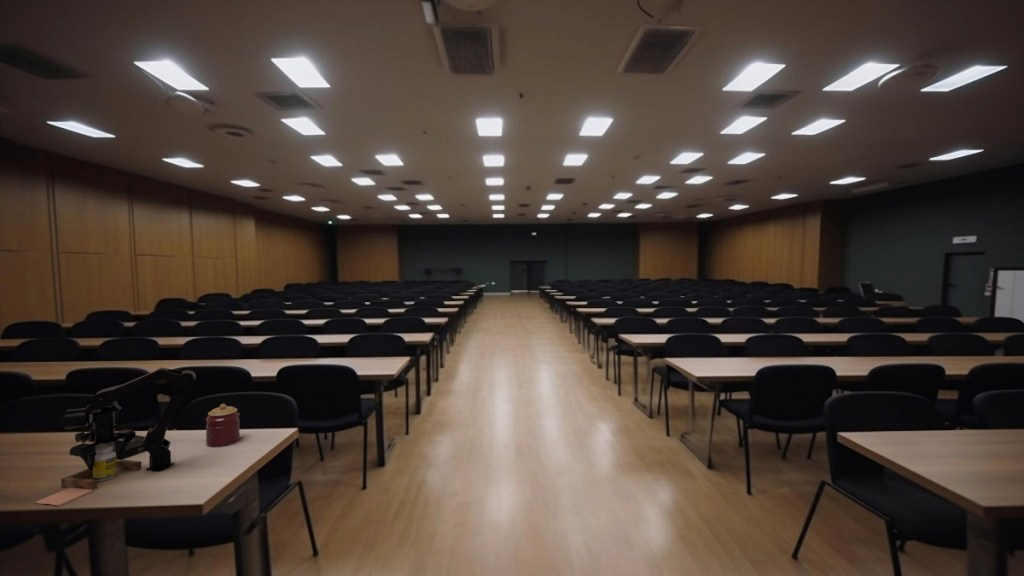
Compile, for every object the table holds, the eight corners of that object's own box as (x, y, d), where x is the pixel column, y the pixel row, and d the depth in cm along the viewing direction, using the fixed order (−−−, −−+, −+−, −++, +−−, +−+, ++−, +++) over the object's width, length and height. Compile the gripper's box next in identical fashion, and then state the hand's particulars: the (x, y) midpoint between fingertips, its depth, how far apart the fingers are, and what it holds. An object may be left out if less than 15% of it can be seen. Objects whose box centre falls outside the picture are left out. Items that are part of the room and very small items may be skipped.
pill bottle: (101, 482, 156) (101, 451, 155) (88, 481, 157) (87, 450, 157) (121, 474, 162) (120, 445, 162) (108, 473, 163) (107, 443, 163)
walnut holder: (141, 468, 167) (141, 461, 167) (92, 490, 150) (92, 482, 150) (112, 466, 169) (112, 458, 169) (61, 487, 152) (61, 478, 152)
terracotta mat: (93, 491, 150) (93, 490, 150) (59, 506, 140) (59, 505, 140) (70, 488, 151) (70, 487, 151) (34, 503, 141) (34, 502, 141)
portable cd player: (132, 443, 194) (132, 434, 193) (158, 448, 188) (158, 439, 188) (87, 457, 178) (87, 448, 178) (113, 463, 173) (113, 453, 173)
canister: (246, 437, 201) (246, 400, 200) (225, 448, 188) (225, 409, 187) (221, 435, 202) (220, 399, 201) (198, 446, 189) (198, 407, 188)
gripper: (113, 414, 170) (113, 452, 170) (56, 431, 151) (57, 474, 152) (136, 416, 168) (137, 454, 168) (82, 433, 149) (83, 476, 150)
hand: (104, 464), depth 160 cm, fingers open, 9 cm apart
